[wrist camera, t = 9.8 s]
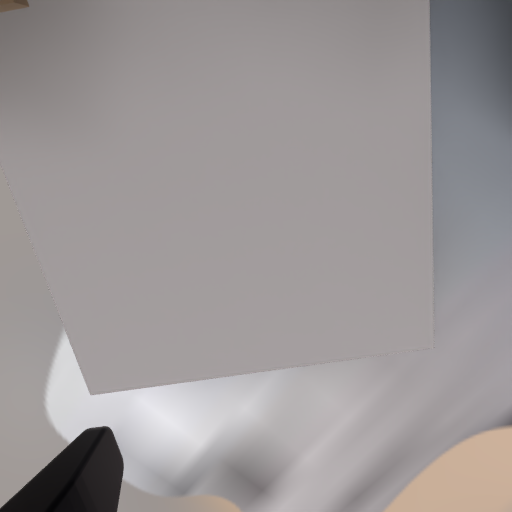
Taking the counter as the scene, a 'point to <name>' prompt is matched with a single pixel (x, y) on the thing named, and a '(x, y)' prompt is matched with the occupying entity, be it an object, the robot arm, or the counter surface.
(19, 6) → the lid
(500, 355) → the counter surface
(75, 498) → the robot arm
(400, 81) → the mat
